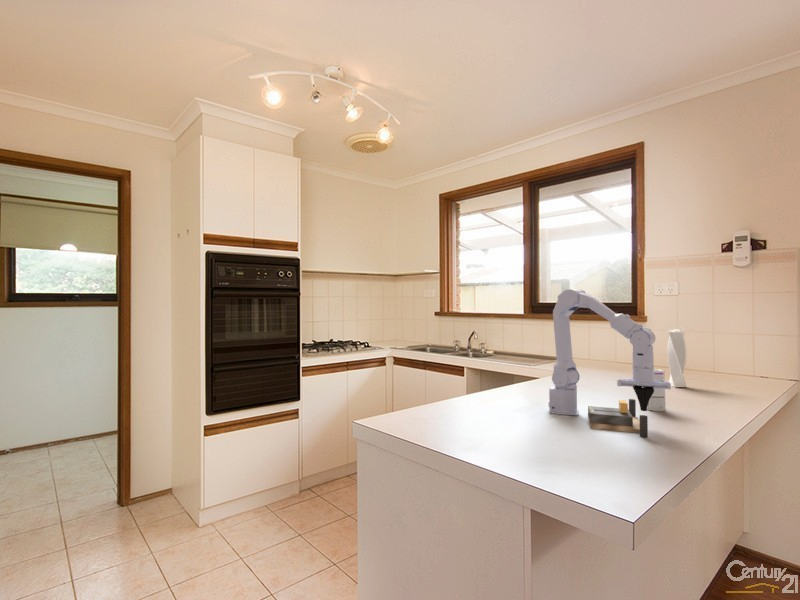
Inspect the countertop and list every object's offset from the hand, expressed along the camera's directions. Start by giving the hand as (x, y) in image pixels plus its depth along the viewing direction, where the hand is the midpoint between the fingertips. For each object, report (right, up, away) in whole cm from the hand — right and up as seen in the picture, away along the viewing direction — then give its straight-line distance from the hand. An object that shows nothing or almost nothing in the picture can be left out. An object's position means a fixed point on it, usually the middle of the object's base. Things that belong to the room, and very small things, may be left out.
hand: (643, 410), depth 131 cm
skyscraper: (+52, -6, +61) cm, 80 cm away
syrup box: (+16, -6, +21) cm, 28 cm away
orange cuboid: (-5, -1, +2) cm, 6 cm away
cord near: (-6, -5, -10) cm, 12 cm away
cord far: (+3, -5, +11) cm, 12 cm away
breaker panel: (-8, -5, +3) cm, 10 cm away
